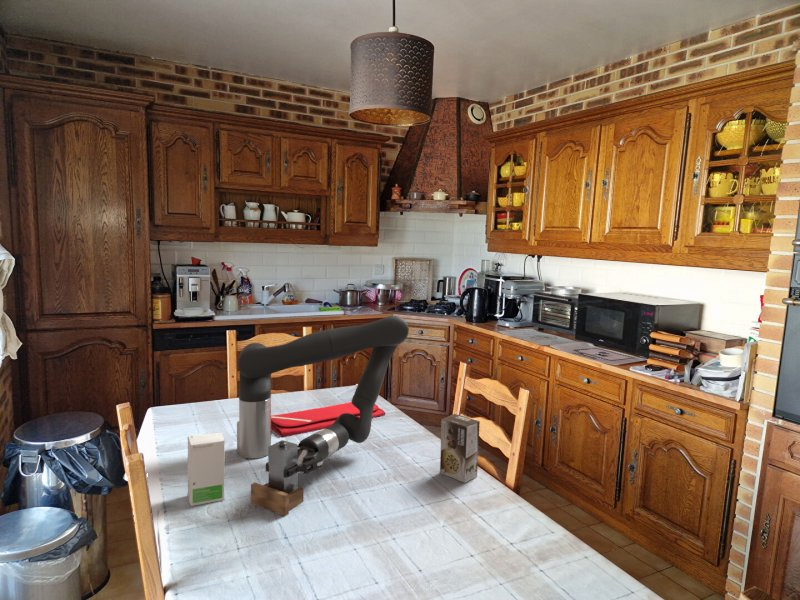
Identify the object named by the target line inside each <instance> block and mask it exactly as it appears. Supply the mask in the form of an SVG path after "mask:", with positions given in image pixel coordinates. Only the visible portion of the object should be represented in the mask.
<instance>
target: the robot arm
mask: <svg viewBox="0 0 800 600" xmlns="http://www.w3.org/2000/svg"><path fill="white" fill-rule="evenodd" d="M409 332H410V328H409V324H408V322H407V321H406V320H405V319H404V318H403V317H400V316H398V315H389V316H386V317H384V318H380V319H378V320H375V321H372V322H368V323H365V324H360V325H352V326H351V325H350V326H343V327H336V328H329V329H324V330H321V331H320V330H319V331H314V332H312V333H308V334H306V335H303V336H300V337H298V338H296V339H294V340H291V341H289V342H287V343H284V344H280V345H273V346H266V345H264V344H262V343H260V342H253V343H252V342H251V343H249V344H247V345H246V346H244V347H243V348H242V350H241V351H240V353H239V356H238V359H237V369H238V371H239V384H238V385H239V386H238V418H239V419H238V421H237V422H236V452H237V453H238V454H239V455H240V457H242V458H244V459H261V458H263V457H268V447H269V446H271V445H272V429H271V416H272V397H271V396H272V374H275V373H277V372H281V371H283V370H286V369H287V370H288V369H291V368H297V367H304V366H309V365H314V364H319V363H324V362H328V361H333V360H338V359H341V358H344V357H346V356H349V355H352V354H355V353H358V352H361V351H363V350H367V349H371V348H372V349H371V353H370V356H369V359H368V362H367V364H366V366H365V368H364V370H363V373H362V375H361V376H360V377H361V378H360V379H359V382H358V384H357V387H356V389H355V391H354V393H353V395H352V398H351V402H352V404H353V405H354V406H355V407H356V408H358V409H359V411H360V418H359V417H357V416H355V415H352V414H350V413H343V414H341V415H340V416H339V417H338V418H337V419H336V421H335V422H334V423H333V424H332V425H331V426H330V427H328V428H325V429H321V430H317V432H314V433H312V434H311V435H308V436H306V437H305V438H303V439H301V440H300V441H299V443H298V444H297V446H298V461H297V462H296V464H292V465H290V466H289V467H287V468H285V469H284V477H285V478H288V477H290V476H292V475H294V474H295V473H298V474H300V473H302V474H303V475H308V474H310V473H312V472H314V471H318V470H319V469H321V468H323V466H324V464H323V463H324V461H326V460H327V459H328V458H330V457H331V456H333V455H334V454H335V453H336V452H338V451H340V450H342V449H343V448H344V447H345V446H346V445H348V443H349V441H351V442H354V443H356V444H362V443H364V442H365V441H366V440H367V439H368V438H369V436H370V433H371V429H372V420H373V418H372V414H373V408H374V405H375V404H376V402H377V400H378V397H379V394H380V392H381V389H382V386H383V384H384V383H383V382H384V379H385V375H386V373H387V370H388V365H389V364H390V361H391V359H392V356H393V354H394V352H395V351H396V349H397V348H398V346H399V345H401V344H403V343H404V342H405V341H406V339H407V337H408V336H409ZM265 472H267V473H268V462H266V463H265Z"/></svg>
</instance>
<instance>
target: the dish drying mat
mask: <svg viewBox="0 0 800 600" xmlns="http://www.w3.org/2000/svg"><path fill="white" fill-rule="evenodd" d="M343 413H350V414H352V415H355V416H357V417H359V418H360V411H359V409H358V408H356V407H355V406H354V405H353V404H352V401H349V402H345V403H339V404H334V405H329V406H323V407H317V408H310V409H305V410H298V411H291V412H288V413H279V414H274V415H272V414H271V431H274V432H275V433H276V434H277V435H278V436H280V437H281V438H285V437H289V436H290V437H291V436H297V435H301V433H302V434H306V433H311V432H315V431H321V430H324V429H326V428H328V427H330V426H331V425H332V424H333V423H334V422H335V421H336V419H337V418H338V417H339V416H340V415H341V414H343ZM381 415H383V416H385V415H386V411H384V410H383V409H381V408H380V407H379V405H377V403H375V405H374V408H373V414H372V419H373V417H375V418H378V417H377V416H379V417H382V416H381Z"/></svg>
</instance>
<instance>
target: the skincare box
mask: <svg viewBox="0 0 800 600" xmlns="http://www.w3.org/2000/svg"><path fill="white" fill-rule="evenodd" d="M186 438H187V498H188V502H189V506H190V507H191V506H192V507H194V506H198V505H204V504H208V503H214V502H221V501H225V456H226V455H225V449H226V448H225V445H226V444H225V442H226V441H225V438H224V435H223V433H222V432H215V433H214V432H213V433H201V434H194V435H188V436H187V437H186Z"/></svg>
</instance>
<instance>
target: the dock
mask: <svg viewBox="0 0 800 600" xmlns="http://www.w3.org/2000/svg"><path fill="white" fill-rule="evenodd" d="M304 496H305V494H304V487H302V486H298V488H297V489H295V490H294V491H292V492H291V493H289V494H287V493H284V492H281V491H279V490H276V489H273V488H270V487H269V481H268V482H267V483H265V484H260V483H259V482H256V481H255V482H252V483H251V484H250V504H252V505H255V506H256V507H257V506H258V507H259V508H263V509H265V510H268V511H270V512H273V513H276V514H278V515H281V516H284V517H286V516H288V515H289V514H290V511H291V510H293V509H294V508H296V507H297V506H298V505H300V504H301V503H303V502H304Z"/></svg>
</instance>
